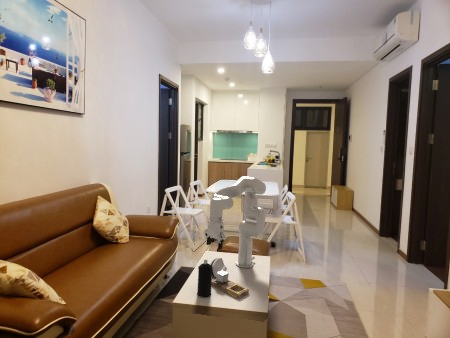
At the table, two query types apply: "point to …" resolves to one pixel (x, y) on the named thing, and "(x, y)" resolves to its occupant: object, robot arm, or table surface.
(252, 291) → the table surface
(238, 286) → the wooden slotted tray
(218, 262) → the gray curved box
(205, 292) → the aerosol can
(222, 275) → the grey rectangular block
